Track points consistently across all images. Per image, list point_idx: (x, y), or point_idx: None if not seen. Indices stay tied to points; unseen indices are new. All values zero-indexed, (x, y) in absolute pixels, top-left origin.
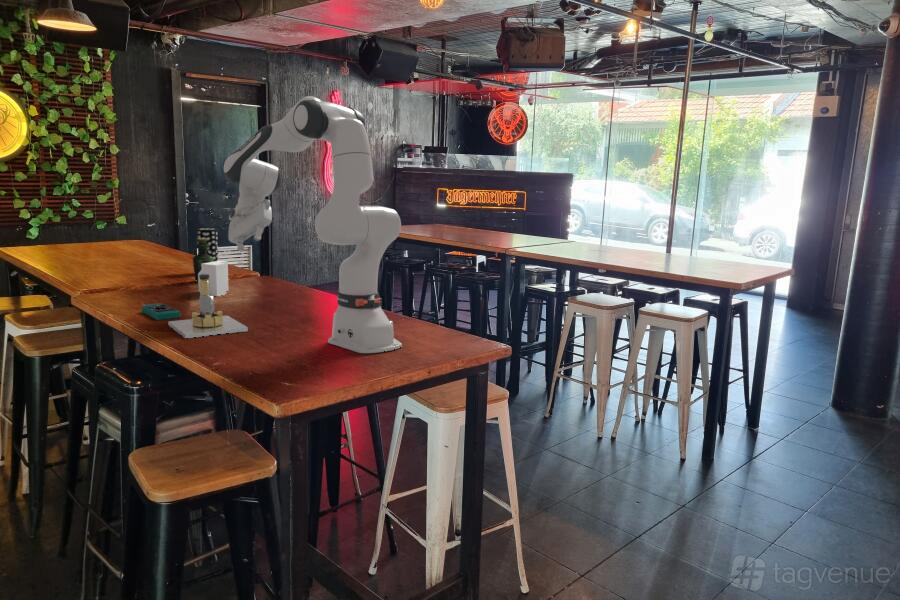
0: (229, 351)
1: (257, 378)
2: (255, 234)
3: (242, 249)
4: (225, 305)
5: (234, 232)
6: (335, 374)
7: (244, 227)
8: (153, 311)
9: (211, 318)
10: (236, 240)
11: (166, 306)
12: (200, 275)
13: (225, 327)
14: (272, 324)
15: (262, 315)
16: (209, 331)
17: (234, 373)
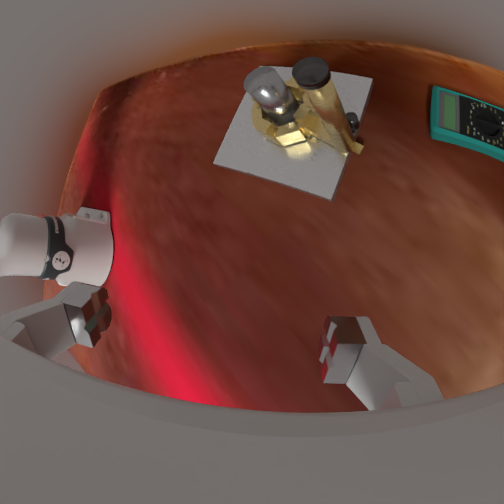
0: (175, 97)
1: (122, 93)
2: (65, 300)
3: (321, 336)
4: (468, 325)
5: (494, 460)
6: (86, 149)
7: (165, 464)
8: (462, 94)
9: (254, 102)
10: (426, 392)
11: (501, 147)
12: (307, 57)
13: (244, 131)
14: (216, 238)
15: (293, 295)
16: (244, 98)
17: (139, 81)
